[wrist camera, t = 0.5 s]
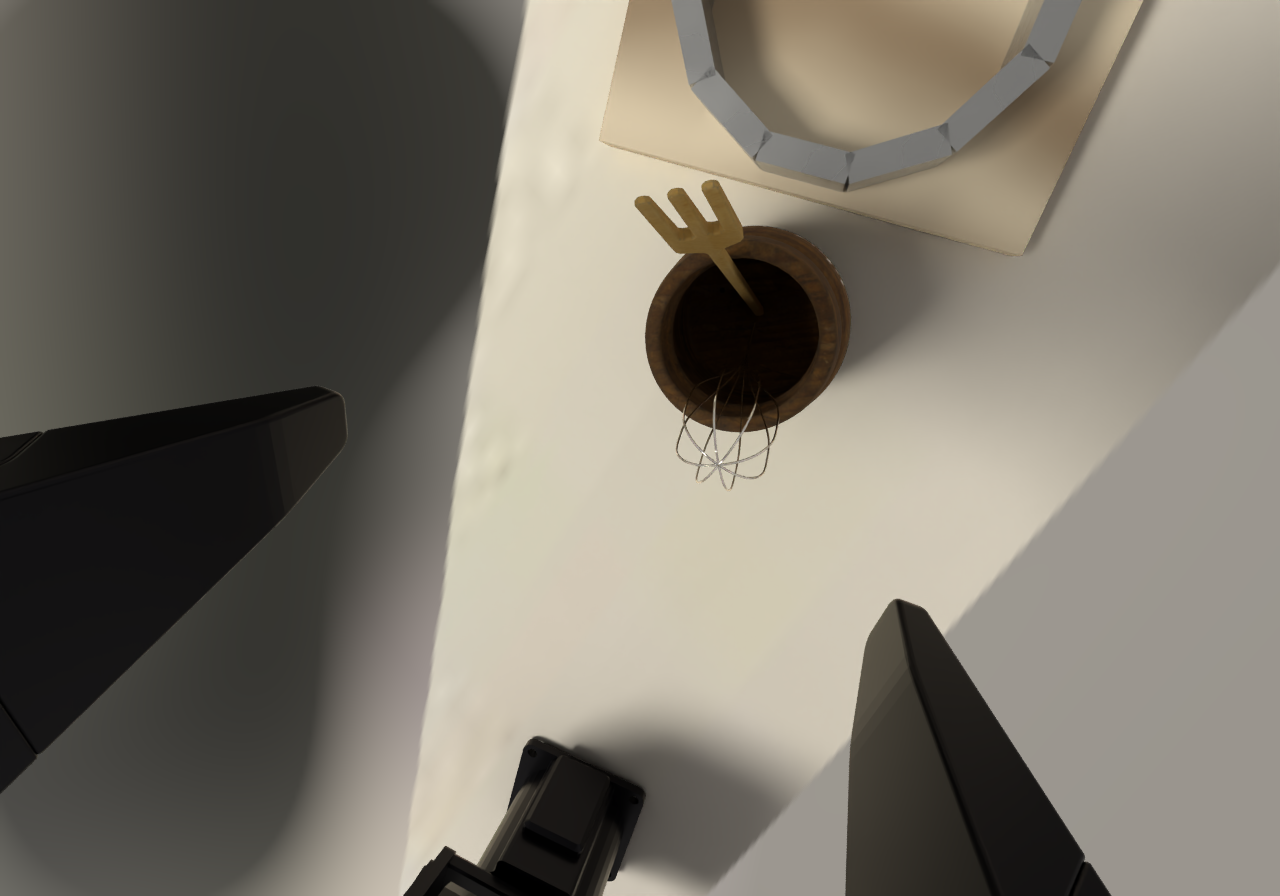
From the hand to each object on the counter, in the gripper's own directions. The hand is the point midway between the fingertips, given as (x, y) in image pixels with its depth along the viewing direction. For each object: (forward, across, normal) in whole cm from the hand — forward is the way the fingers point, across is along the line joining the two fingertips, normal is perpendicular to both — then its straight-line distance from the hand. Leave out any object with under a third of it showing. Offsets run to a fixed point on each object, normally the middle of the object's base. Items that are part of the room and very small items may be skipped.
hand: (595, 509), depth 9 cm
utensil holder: (+15, -1, +2) cm, 15 cm away
